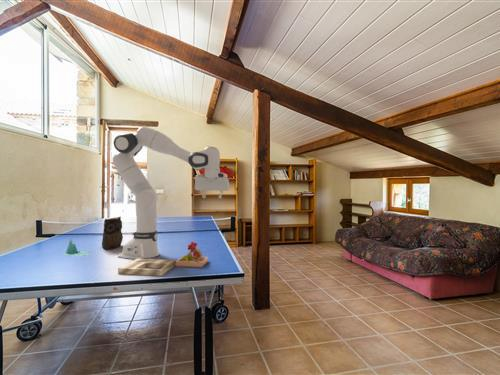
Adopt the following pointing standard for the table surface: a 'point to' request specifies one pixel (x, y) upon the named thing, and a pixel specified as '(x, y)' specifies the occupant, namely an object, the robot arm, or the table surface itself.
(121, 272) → the puzzle board
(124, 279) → the table surface
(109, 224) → the brown owl figurine
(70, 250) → the diorama
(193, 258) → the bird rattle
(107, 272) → the table surface
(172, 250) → the table surface
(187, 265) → the terracotta tray
